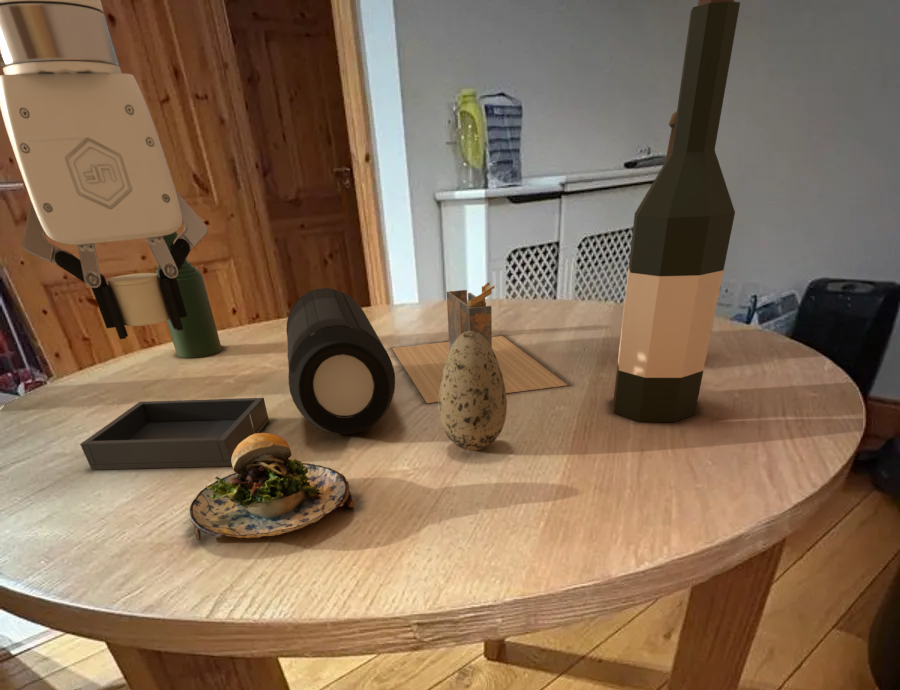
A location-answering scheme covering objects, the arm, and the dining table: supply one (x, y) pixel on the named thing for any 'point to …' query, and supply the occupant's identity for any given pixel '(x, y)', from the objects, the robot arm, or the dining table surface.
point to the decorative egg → (472, 393)
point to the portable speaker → (337, 363)
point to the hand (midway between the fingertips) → (150, 329)
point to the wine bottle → (680, 240)
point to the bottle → (193, 314)
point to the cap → (139, 299)
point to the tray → (176, 434)
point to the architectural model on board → (477, 317)
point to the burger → (267, 492)
